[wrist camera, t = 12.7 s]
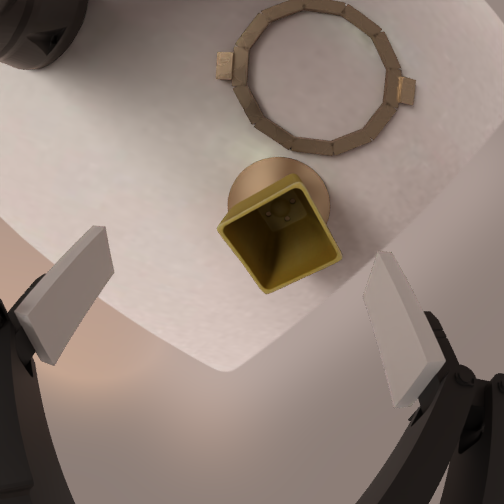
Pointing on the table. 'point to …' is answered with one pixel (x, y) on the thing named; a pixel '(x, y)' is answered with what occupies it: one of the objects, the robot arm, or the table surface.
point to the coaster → (273, 171)
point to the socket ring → (237, 71)
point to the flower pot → (279, 235)
